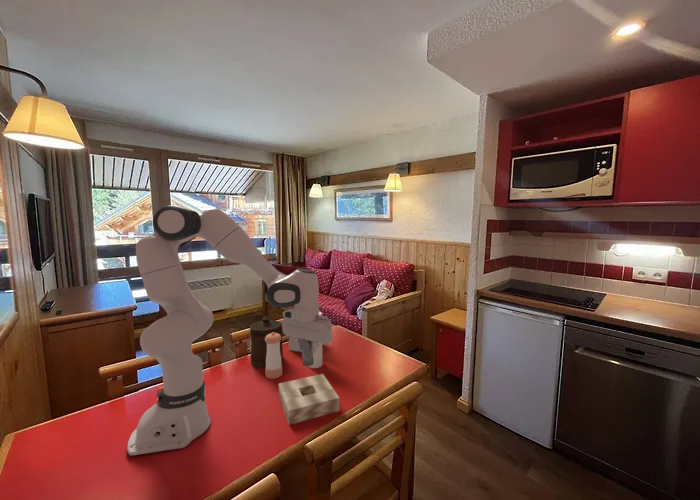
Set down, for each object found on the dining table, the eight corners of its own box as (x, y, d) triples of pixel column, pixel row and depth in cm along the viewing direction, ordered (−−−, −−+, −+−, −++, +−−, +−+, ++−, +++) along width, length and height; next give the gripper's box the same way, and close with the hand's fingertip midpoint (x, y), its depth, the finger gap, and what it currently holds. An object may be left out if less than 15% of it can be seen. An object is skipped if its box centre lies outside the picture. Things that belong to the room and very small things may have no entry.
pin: (302, 366, 106) (301, 339, 106) (302, 362, 110) (301, 335, 109) (313, 365, 107) (312, 338, 106) (313, 361, 111) (312, 334, 110)
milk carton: (288, 351, 154) (288, 315, 152) (295, 345, 161) (294, 311, 159) (301, 353, 152) (300, 317, 150) (307, 347, 158) (306, 312, 157)
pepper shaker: (285, 374, 131) (284, 332, 129) (271, 380, 125) (270, 337, 123) (275, 368, 136) (274, 328, 134) (262, 375, 130) (260, 332, 128)
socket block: (289, 424, 98) (288, 410, 98) (278, 395, 115) (278, 383, 114) (339, 410, 105) (339, 397, 105) (323, 385, 122) (322, 373, 121)
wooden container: (264, 352, 153) (263, 310, 150) (288, 357, 147) (287, 314, 145) (244, 365, 139) (242, 319, 137) (269, 371, 133) (268, 324, 131)
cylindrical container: (325, 364, 140) (325, 312, 138) (315, 370, 134) (315, 316, 132) (313, 360, 144) (313, 310, 142) (303, 366, 138) (303, 314, 136)
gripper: (335, 315, 105) (336, 352, 106) (290, 307, 114) (291, 341, 116) (326, 320, 99) (326, 360, 100) (279, 311, 109) (280, 348, 110)
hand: (307, 350), depth 108 cm, fingers closed on pin, 4 cm apart
